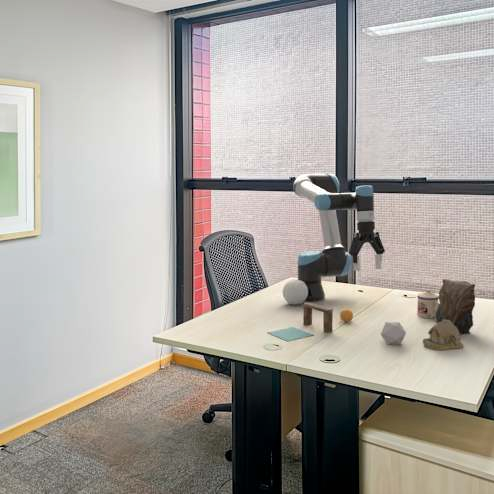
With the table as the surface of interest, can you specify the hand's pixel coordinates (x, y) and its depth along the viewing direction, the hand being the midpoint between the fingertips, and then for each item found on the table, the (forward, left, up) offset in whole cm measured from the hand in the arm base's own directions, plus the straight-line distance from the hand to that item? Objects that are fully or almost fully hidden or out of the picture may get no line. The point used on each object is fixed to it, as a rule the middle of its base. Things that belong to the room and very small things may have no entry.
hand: (368, 269), depth 244 cm
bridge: (+3, -31, -20) cm, 37 cm away
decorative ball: (-33, -14, -20) cm, 42 cm away
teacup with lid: (+18, +20, -20) cm, 34 cm away
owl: (+37, +9, -20) cm, 43 cm away
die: (+34, -21, -20) cm, 45 cm away
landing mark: (+3, -45, -20) cm, 49 cm away
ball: (+3, -15, -17) cm, 23 cm away
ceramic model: (+46, -8, -21) cm, 51 cm away
